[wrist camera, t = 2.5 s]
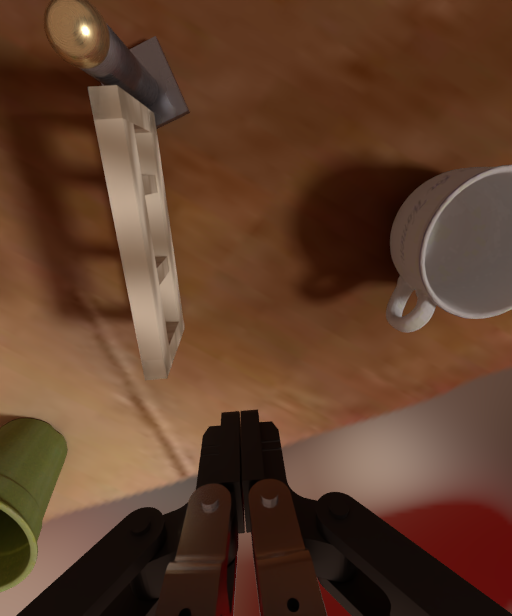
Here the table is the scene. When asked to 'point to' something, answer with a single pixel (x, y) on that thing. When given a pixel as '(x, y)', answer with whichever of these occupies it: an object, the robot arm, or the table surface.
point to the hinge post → (114, 58)
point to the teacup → (454, 247)
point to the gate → (140, 223)
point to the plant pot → (25, 492)
